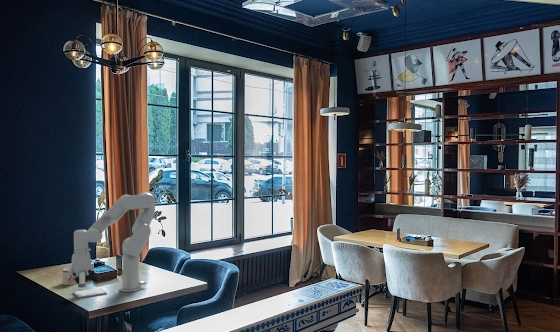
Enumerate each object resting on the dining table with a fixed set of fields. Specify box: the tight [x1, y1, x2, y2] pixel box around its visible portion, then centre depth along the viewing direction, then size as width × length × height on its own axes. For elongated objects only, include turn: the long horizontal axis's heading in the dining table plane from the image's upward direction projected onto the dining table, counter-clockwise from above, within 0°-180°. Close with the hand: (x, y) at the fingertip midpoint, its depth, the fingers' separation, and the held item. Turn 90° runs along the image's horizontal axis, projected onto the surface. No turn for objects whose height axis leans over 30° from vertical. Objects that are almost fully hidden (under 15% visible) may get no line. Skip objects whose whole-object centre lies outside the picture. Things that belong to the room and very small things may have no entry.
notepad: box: [72, 287, 108, 300], centre depth 272 cm, size 16×12×1 cm
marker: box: [77, 271, 87, 288], centre depth 270 cm, size 4×4×12 cm
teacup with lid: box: [61, 264, 77, 286], centre depth 294 cm, size 12×9×12 cm
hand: (81, 282), depth 270 cm, fingers closed on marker, 3 cm apart
